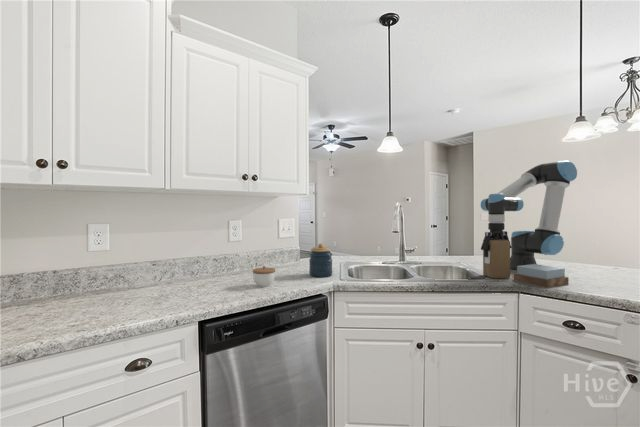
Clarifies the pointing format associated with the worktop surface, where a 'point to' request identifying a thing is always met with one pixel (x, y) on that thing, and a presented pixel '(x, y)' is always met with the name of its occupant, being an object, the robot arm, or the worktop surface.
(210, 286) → the worktop surface
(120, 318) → the worktop surface
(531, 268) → the tower top
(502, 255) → the block
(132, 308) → the worktop surface
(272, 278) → the lidded jar
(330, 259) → the canister
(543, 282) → the tower base
